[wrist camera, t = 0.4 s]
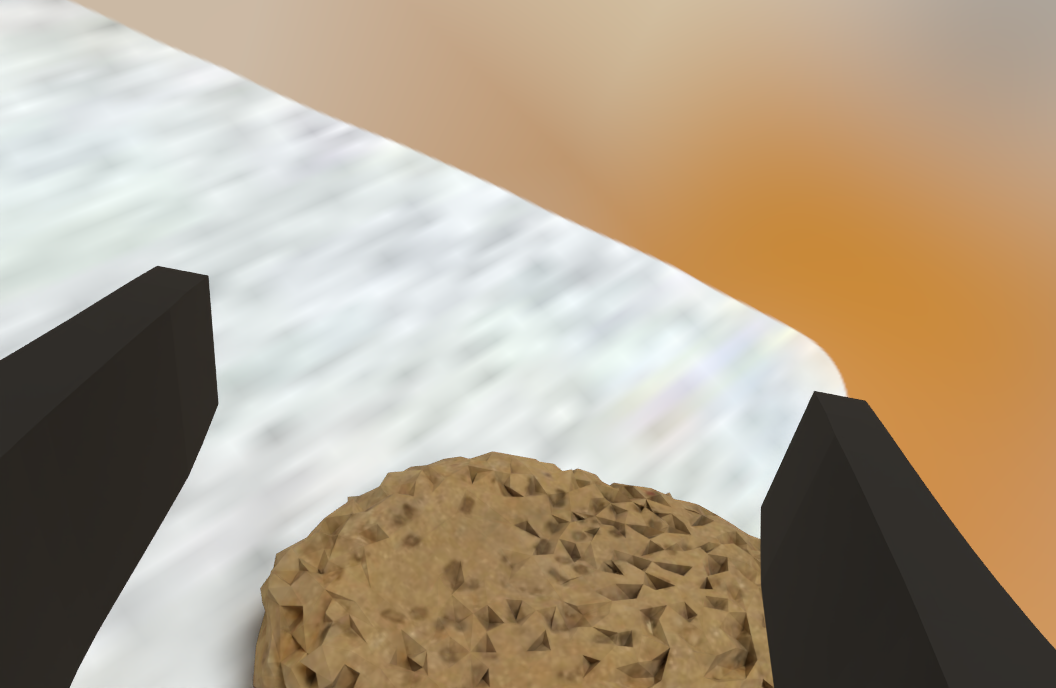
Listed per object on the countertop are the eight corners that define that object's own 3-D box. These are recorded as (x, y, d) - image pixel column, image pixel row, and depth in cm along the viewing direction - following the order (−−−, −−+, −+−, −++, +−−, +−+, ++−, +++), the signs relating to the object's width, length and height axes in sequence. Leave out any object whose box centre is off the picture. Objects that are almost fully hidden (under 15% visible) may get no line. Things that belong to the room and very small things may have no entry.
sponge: (830, 670, 37) (418, 349, 34) (1005, 652, 30) (513, 252, 27) (709, 1051, 29) (171, 684, 26) (905, 1137, 23) (218, 661, 20)
